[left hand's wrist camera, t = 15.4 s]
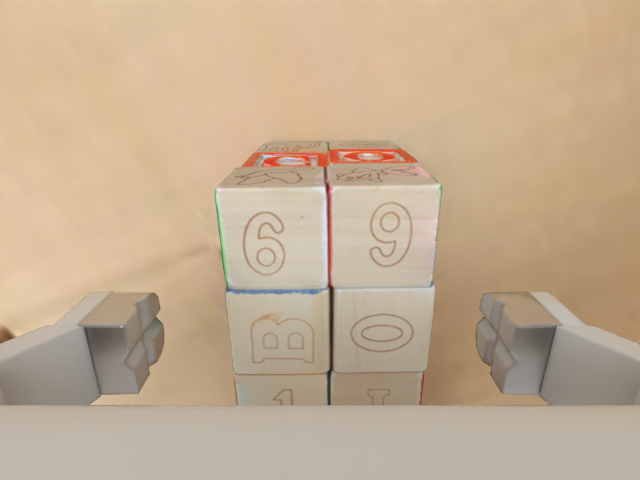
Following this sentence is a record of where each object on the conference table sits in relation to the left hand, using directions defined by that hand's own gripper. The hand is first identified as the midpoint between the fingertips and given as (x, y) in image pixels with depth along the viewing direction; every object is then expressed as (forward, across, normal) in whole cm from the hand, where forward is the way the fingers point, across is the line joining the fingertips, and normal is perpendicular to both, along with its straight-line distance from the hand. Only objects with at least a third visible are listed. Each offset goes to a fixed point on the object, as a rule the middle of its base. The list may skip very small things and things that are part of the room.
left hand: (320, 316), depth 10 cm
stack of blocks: (+11, 0, -8) cm, 13 cm away
